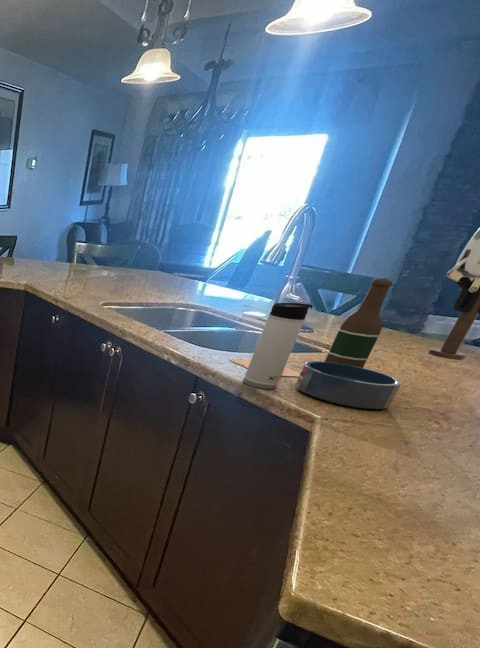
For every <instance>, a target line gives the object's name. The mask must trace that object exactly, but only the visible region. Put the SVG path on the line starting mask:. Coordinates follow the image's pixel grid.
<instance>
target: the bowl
mask: <svg viewBox="0 0 480 648" xmlns="http://www.w3.org/2000/svg"><path fill="white" fill-rule="evenodd" d="M324 361H325V360H324ZM324 361H322V360H311V361H306V362H305V363H304V365H303V367H302V369H301V372H300V373H301V374H300V376H298V378H297V380H296V383H295V385H294V386H295V387H296V388H297V390H299V391H300V392H303V393H305V394H306V395H308V394H309V396H310V395H311V396H310V397H313V398H315V397H316V398H315V399H318V400H321V399H322V400H321V401H324V400H325V401H324V402H327V401H328V402H327V403H331V404H334V403H335V405H339V406H343V405H345V406H344V407H349V408H355V409H367V410H368V409H369V410H370V409H372V410H383V409H387V408H390V405H391V404H392V402H393V400H394V398H395V396H396V395H397V393H398V391H399V390H400V387H401V385H402V381H401V380H400V379H398V378H397V377H395V376H393V375H389V374H387V373H384V372H381V371H379V370H378V371H377V370H374V369H370V368H366V367H358V366H353V365H348V364H341V363H335V362H324Z"/></svg>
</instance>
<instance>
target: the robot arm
mask: <svg viewBox="0 0 480 648" xmlns="http://www.w3.org/2000/svg"><path fill="white" fill-rule="evenodd" d="M464 274H465V275H464ZM445 277H447V278H448V279H451V280H452V281H455V282H456V284H457V286H458V287H459V288H458V289H459V290H460V293H459V294H458V297H457V299H456V300H455V303H454V307H453V311H457V312H460V313H461V312H465V313H467V312H469V311H470V310H471V308H472V306H473V304H474V303H475V301H476V299H477V297H478V296H479V293H477V292H476V291H477V290H478V288H479V287H480V227H479V228H478V229H477V230H476V231H475V232H474V234H473V235H472V236H471V238H470V239H469V241H468V242H467V243H466V245H465V247H464V248H463V250H462V251H461V253H460V255H459V256H458V258H457V260H456V263H455V264H454V266H453V267H452V268H451V269H449V270H448V271H447V272H446V273H445ZM479 314H480V312H479Z"/></svg>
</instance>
